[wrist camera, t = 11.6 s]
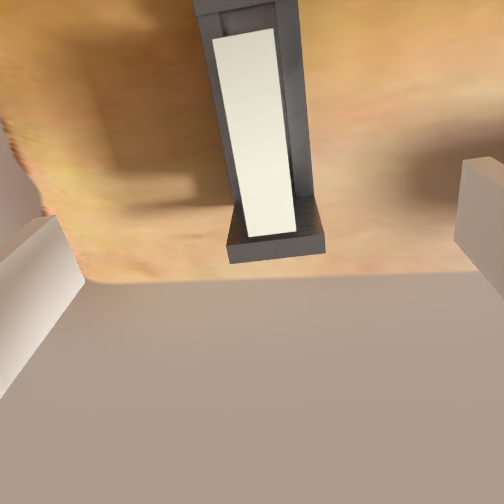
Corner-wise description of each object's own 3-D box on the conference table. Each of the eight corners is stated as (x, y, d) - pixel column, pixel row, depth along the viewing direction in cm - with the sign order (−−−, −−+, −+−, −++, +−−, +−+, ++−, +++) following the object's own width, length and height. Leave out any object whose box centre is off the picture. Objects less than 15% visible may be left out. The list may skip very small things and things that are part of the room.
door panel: (228, 36, 29) (206, 40, 19) (272, 28, 29) (273, 28, 18) (251, 174, 35) (243, 237, 24) (288, 169, 34) (296, 231, 24)
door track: (200, -6, 28) (166, -23, 19) (292, -25, 28) (303, -50, 18) (240, 205, 37) (230, 264, 28) (311, 195, 36) (325, 253, 27)
